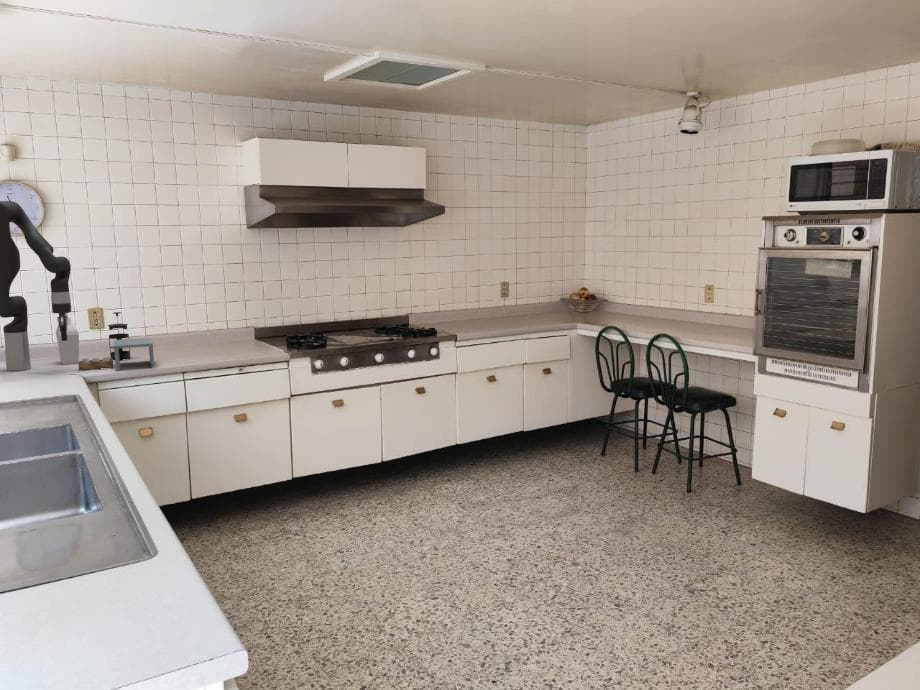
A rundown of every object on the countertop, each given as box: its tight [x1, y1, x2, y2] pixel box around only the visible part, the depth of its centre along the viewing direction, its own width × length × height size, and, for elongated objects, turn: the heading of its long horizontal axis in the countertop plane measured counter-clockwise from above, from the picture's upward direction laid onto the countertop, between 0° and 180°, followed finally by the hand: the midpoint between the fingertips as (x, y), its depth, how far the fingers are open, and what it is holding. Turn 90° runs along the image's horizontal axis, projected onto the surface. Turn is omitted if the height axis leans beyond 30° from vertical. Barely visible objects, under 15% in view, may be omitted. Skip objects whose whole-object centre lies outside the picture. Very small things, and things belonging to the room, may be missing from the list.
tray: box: [77, 356, 114, 371], centre depth 335 cm, size 14×6×5 cm, turn 115°
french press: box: [107, 311, 132, 361], centre depth 358 cm, size 12×9×23 cm
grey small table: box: [113, 337, 155, 371], centre depth 341 cm, size 16×20×11 cm
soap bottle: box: [50, 310, 80, 365], centre depth 349 cm, size 12×10×26 cm
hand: (64, 340), depth 329 cm, fingers closed
